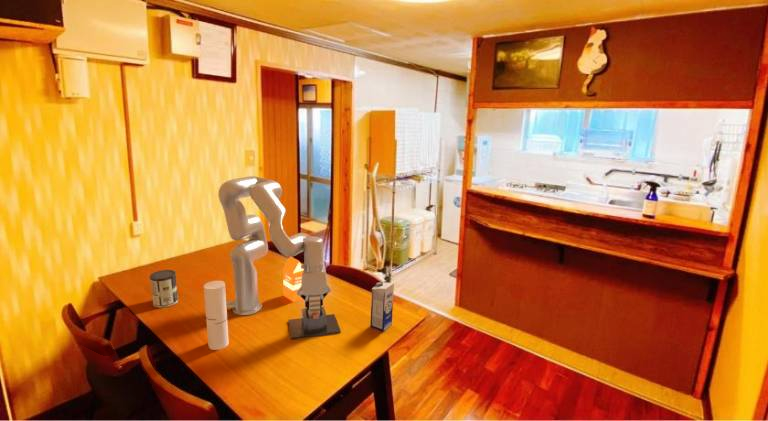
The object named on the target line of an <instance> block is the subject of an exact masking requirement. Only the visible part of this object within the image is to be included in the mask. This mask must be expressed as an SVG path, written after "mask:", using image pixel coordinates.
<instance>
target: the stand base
mask: <svg viewBox="0 0 768 421" xmlns="http://www.w3.org/2000/svg"><path fill="white" fill-rule="evenodd" d="M288 326H289V327H288V328H289V333H290V334H289V335H290V340H291V341H293V340H294V341H296V340H301V339H308V338H314V337H321V336H322V337H323V336H330V335H336V334H342V333H341V332H342V331H341V327H340V325H339V323H338V320H337V317H336V315H335V314H334V313H333V314H327V311H326V309H325V307H324V306H321V309H320V316H319V314H318V313H312V317H308V310H307V307H304V308H301V318H300V317H299V318H293V319H288Z"/></svg>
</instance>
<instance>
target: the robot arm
mask: <svg viewBox="0 0 768 421" xmlns="http://www.w3.org/2000/svg"><path fill="white" fill-rule="evenodd" d="M218 189H219V190H218V199H219V200H218V201H219V202H220V204H221V205H220V206H221V207H222V209H223V213H224V217H225V222H226V226H227V230H228V234H229V237H230V238H231V240H233V241H236V242H237V241H238V242H239V241H243V240H245V239H248V240H245V241H243V242H241V243H238V244H237V245H235V246H233V248H232V249H231V251H230V259H231V263H232V268H233V275H234V276H233V277H234V293H235V297H234V299H233V300H232V301H226V307H227V308H228V309H229V308H232V312H233V313H234V314H235V315H239V316H251V315H253V314H257V313H258V312H260V311H261V309H262V307H263V304H262V303H261V301H259V291H258V290H259V289H258V271H257V268H256V267H255V265H254V262H255V261H257V260H259V259H261V258H263V257H265V256H266V255H267V254H268V252H269V245H268V244H269V243H268V240H267V235H266V231H265V226H264V223H263V221H262V219H261V218H260V217H259V216H258V215H256V214H247V212H246V208H245V206H244V204H243V202H242V201H240V199H242V198H243V199H244V198H247V197H250V198H251V199H252V201H253V202H254V204H255V205H256V206H257V207H258V208H257V209H259V211H260V212H261V213H262V214H263V216H264V218H265V219H266V220H267V222H268V232H269V237H270V239H271V241H272V244H273V245H274V246H275V247H276V249H277V250H278V251H279V253H280V254H281V255H283V256H285V258H286V257H287V258H289V257H293V258H294V257H295V256H297V255H299V254H300V253H303V252H304V255H303V256H304V258H303V259H304V260H303V261H304V262H303V264H302V265H301V269H304V270H303V273H302V281H301V287H300V288H299V290H298V291H297V292H296V294H297V295H298V296H300V297H301V298H303V299H302V300H304V306H305V307H304V308H307V310H309V299H308V298H309V296H310V295H320V309H321V307H324V305H323V304H324V299H325V297H326V296H327V295H328V294H330V293H331V292H332V289H331V287H329V285H328V283H327V282H328V280H327V274H326V273H327V272H326V269H325V268H324V240H323V238H322V237H320V236H312V235H310V234H307V233H305V232H298V233H296V234H293V235H292V236H288V235H287V233H286V232H285V230H284V227H283V224H282V223H283V219H284V217H285V216H286V215H287V214H286V213H287V209H286V207H285V206H284V205H283V203H282V202H281V201H280V200H279V199H280V198H281V197H282V195H283V188H282V186H281V185H280V183H278V182H277V181H276V180H272V179H268V178H264V177H259V176H254V175H250V176H249V175H248V176H245V177H238V178H233V179H229V180H227V181H225V182H223V183H222V184H221V186H220V187H219V188H218ZM301 292H302V293H301Z"/></svg>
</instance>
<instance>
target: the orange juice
mask: <svg viewBox="0 0 768 421" xmlns="http://www.w3.org/2000/svg"><path fill="white" fill-rule="evenodd" d="M301 265H303V264H302V263H301V262H300V260H299V259H296V258H294V256H293V257H288V259H287V261H286V263H285V264H284V266H283V269H282V272H283V274H282V275H283V276H282V278H283V282H282V284H283V297H285V298H286V299H288V300H290V301H291V302H292V303H295V302H297V301H300V300H304V299H303V298H301V297H300V296H298V295H297V294H296V292H297V291H298V290H299V288H300V287H301V281H302V273H303V270H304V269H301ZM301 293H302V292H301Z"/></svg>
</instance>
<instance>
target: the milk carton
mask: <svg viewBox="0 0 768 421" xmlns="http://www.w3.org/2000/svg"><path fill="white" fill-rule="evenodd" d="M394 291H395V283H394V282H383V281H380V282H376V283H375V286H373V287H372V288H371V303H370V304H371V305H370V306H371V307H370V325H369V326H370V328H373V329H375V330H378V331H380V332H383V333H384V332H386V330H388V329H389V328H390V327H391V326H392V325H393V309H394V306H393V305H394V293H395V292H394Z"/></svg>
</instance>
